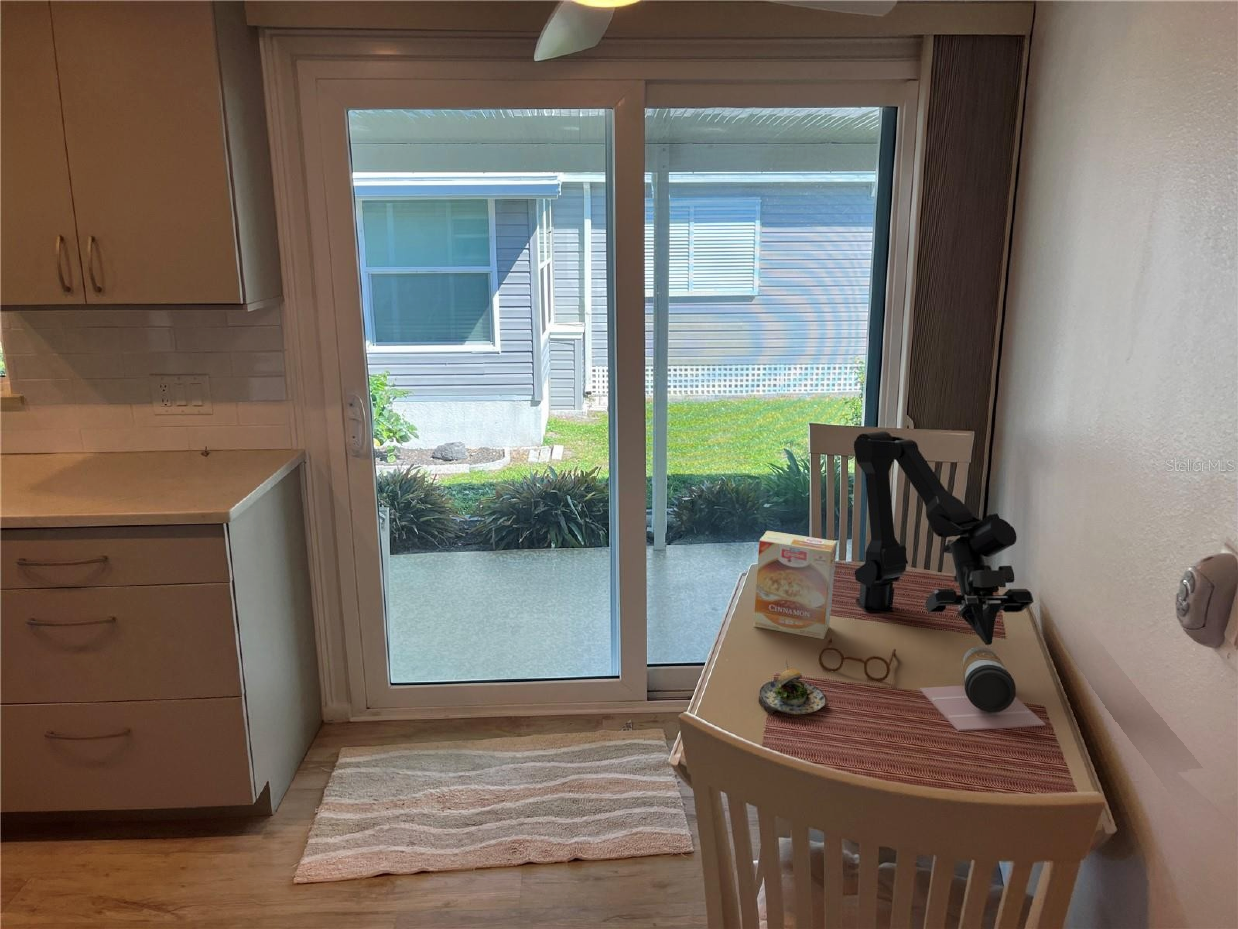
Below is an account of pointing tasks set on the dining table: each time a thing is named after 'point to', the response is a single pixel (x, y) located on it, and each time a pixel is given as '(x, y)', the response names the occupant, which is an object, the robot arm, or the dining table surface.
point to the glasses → (855, 660)
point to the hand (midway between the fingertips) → (988, 644)
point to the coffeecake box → (794, 584)
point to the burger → (791, 695)
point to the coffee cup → (987, 680)
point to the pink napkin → (977, 711)
